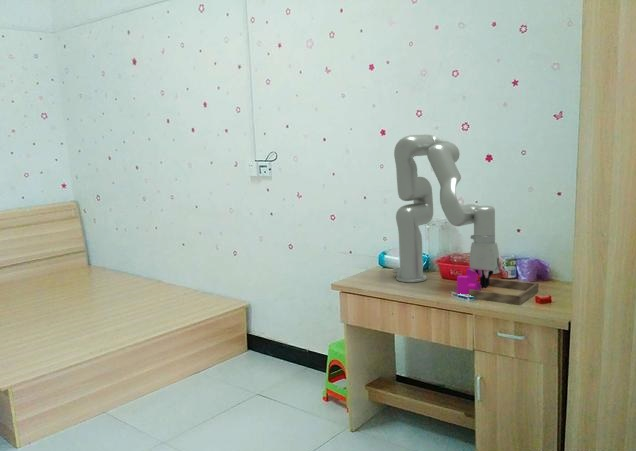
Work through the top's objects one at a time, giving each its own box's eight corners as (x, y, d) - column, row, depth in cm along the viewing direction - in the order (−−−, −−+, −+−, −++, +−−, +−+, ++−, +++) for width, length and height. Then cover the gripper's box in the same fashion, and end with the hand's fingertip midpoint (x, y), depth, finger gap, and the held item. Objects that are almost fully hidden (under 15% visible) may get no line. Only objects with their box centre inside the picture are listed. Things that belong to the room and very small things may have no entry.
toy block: (474, 298, 204) (474, 278, 203) (457, 296, 207) (457, 276, 206) (484, 288, 216) (484, 269, 215) (467, 286, 220) (467, 268, 218)
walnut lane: (469, 297, 204) (469, 289, 203) (490, 285, 219) (490, 278, 219) (520, 305, 192) (520, 296, 192) (538, 291, 207) (538, 283, 207)
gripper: (461, 239, 209) (461, 287, 211) (500, 242, 200) (500, 292, 202) (469, 236, 215) (470, 282, 217) (508, 238, 205) (508, 287, 208)
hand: (484, 287), depth 210 cm, fingers closed
